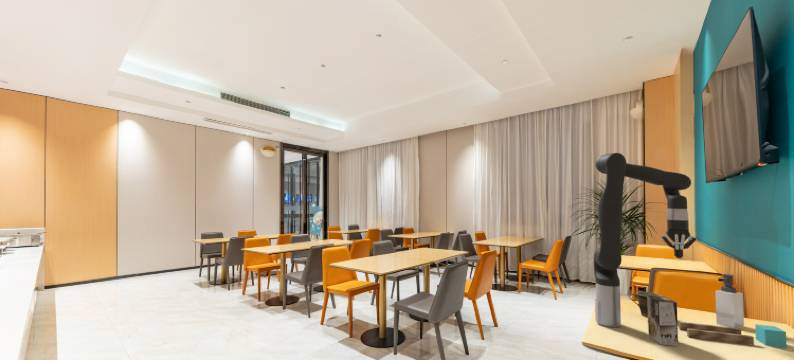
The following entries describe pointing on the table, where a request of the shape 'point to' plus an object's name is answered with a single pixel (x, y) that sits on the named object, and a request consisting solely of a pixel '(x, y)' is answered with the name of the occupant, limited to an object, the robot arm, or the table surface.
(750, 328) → the table surface
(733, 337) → the chute
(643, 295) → the ceramic cup
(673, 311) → the coffee box
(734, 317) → the soap dispenser
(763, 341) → the block
